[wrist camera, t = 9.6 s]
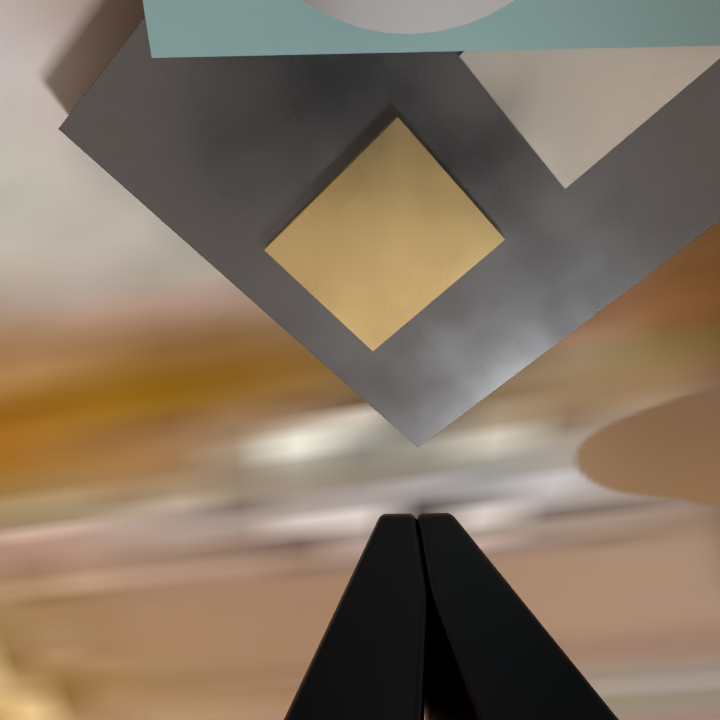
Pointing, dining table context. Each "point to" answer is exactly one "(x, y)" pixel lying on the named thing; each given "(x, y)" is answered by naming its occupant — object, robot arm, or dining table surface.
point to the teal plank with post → (421, 25)
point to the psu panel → (419, 195)
